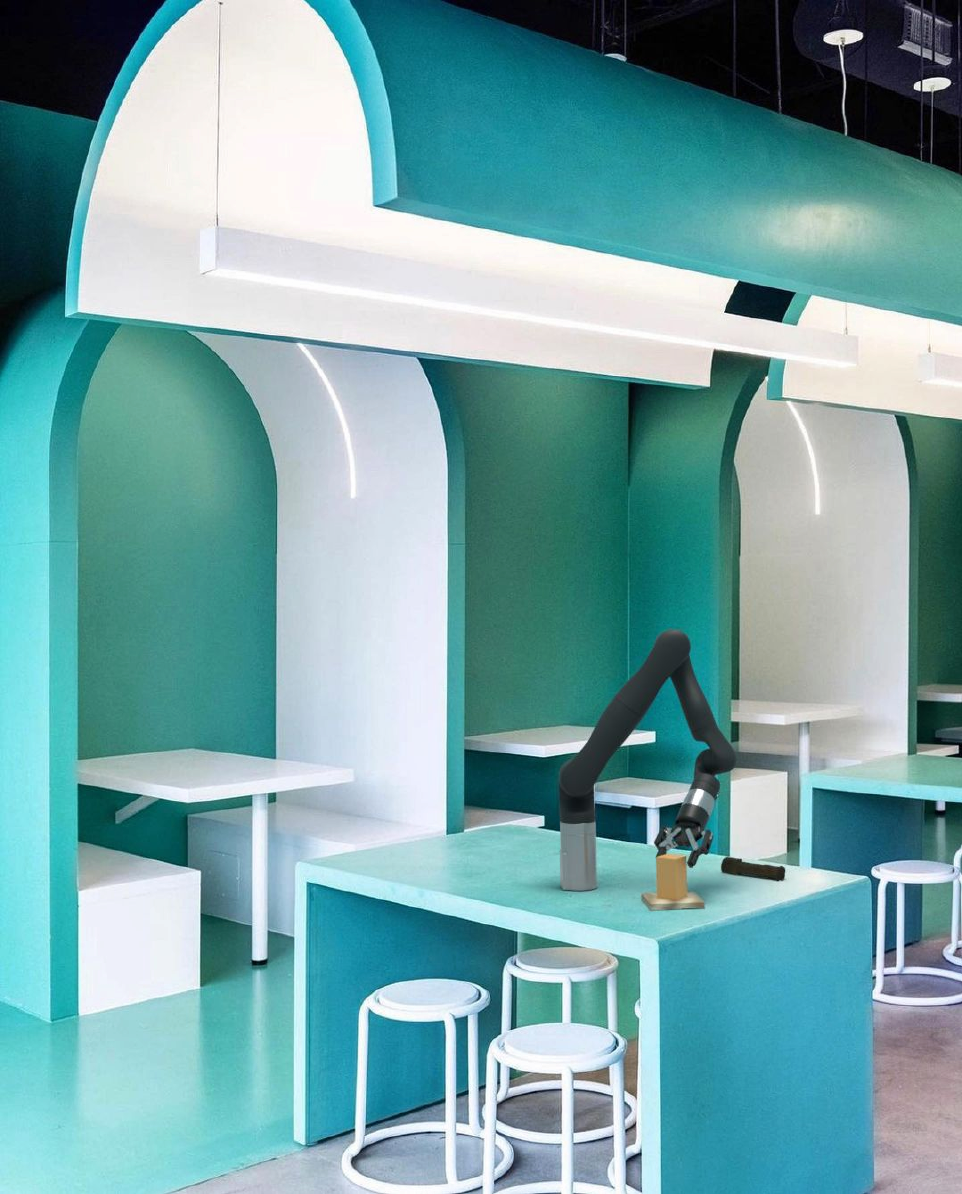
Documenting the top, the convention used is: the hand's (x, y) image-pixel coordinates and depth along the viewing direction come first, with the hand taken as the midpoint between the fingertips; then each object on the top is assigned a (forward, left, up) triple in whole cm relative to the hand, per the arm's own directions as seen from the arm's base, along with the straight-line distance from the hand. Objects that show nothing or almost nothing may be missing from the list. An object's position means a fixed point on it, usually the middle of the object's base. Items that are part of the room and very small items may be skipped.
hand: (674, 864), depth 339 cm
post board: (-1, -1, -9) cm, 10 cm away
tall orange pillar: (-1, -1, -8) cm, 8 cm away
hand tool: (+26, +29, -10) cm, 40 cm away
